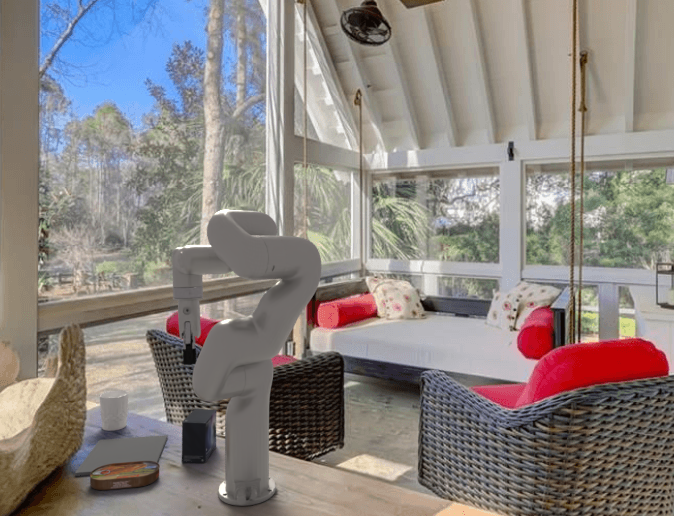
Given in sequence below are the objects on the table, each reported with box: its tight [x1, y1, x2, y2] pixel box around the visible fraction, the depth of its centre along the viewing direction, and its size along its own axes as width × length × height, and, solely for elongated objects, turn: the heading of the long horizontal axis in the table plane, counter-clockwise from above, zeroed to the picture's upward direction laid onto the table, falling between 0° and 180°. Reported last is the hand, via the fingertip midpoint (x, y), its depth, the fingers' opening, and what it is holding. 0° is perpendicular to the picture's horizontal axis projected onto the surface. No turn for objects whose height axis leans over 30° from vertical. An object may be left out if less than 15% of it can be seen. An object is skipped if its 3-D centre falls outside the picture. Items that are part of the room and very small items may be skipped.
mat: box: [74, 434, 169, 477], centre depth 127 cm, size 20×18×1 cm
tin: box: [89, 461, 161, 491], centre depth 113 cm, size 15×3×8 cm
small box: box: [181, 408, 217, 464], centre depth 128 cm, size 11×6×10 cm, turn 179°
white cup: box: [99, 389, 129, 432], centre depth 147 cm, size 8×8×10 cm
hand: (189, 363), depth 128 cm, fingers closed
